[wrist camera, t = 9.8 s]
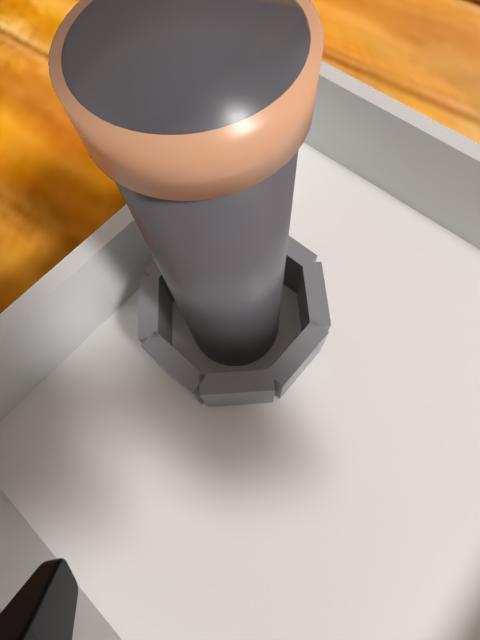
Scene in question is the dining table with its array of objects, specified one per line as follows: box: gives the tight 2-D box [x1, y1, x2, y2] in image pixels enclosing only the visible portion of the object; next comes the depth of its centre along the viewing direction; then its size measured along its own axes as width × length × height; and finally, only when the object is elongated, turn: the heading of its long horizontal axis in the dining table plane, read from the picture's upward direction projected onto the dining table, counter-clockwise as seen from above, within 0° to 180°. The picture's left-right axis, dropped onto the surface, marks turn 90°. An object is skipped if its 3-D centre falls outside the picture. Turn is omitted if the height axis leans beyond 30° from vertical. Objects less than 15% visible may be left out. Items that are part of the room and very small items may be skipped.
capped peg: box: [48, 0, 324, 366], centre depth 12 cm, size 4×4×13 cm
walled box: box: [0, 61, 480, 640], centre depth 15 cm, size 24×24×5 cm
